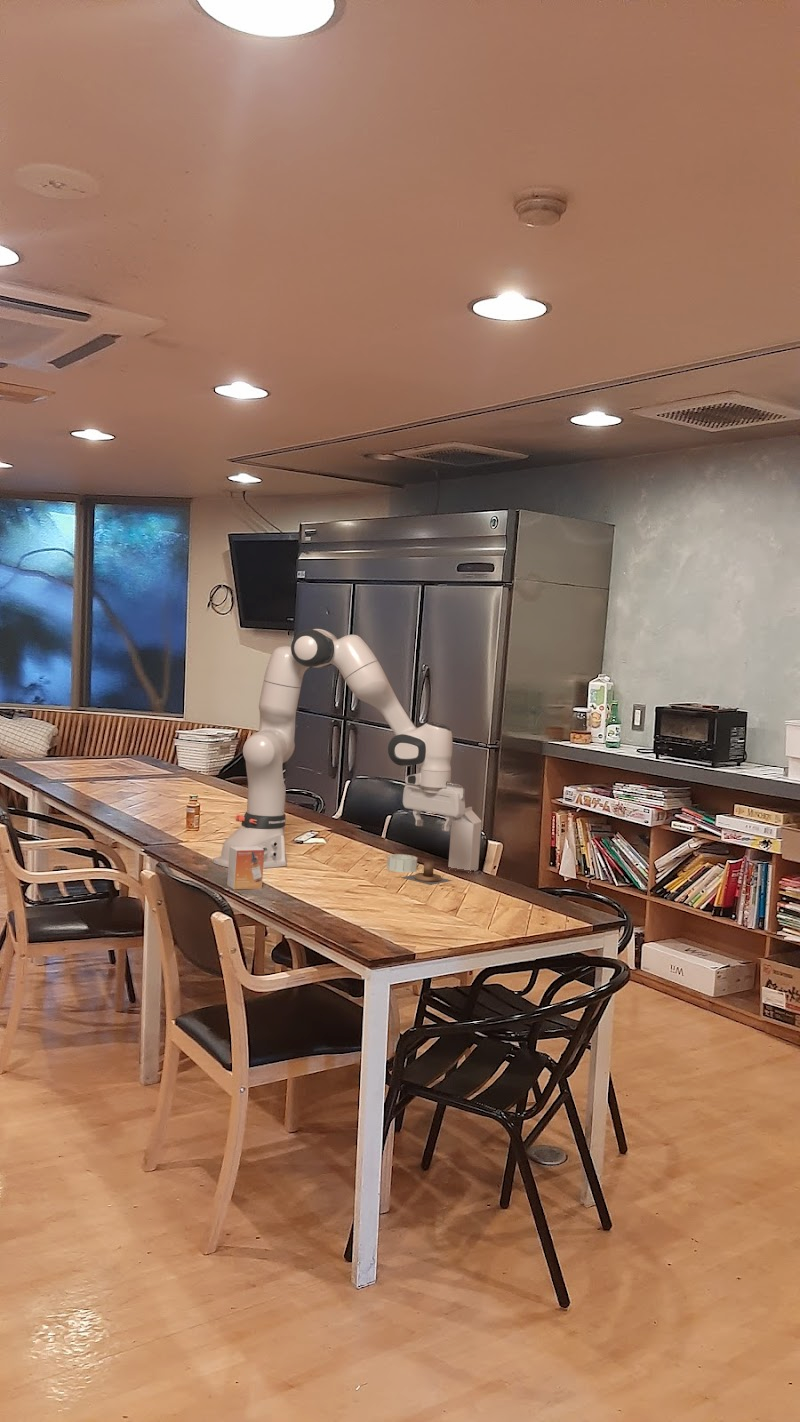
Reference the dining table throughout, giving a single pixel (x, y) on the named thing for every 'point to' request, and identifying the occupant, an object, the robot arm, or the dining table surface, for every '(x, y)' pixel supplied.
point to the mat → (425, 882)
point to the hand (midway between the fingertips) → (432, 828)
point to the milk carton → (465, 841)
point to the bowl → (402, 863)
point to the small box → (245, 867)
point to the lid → (428, 873)
